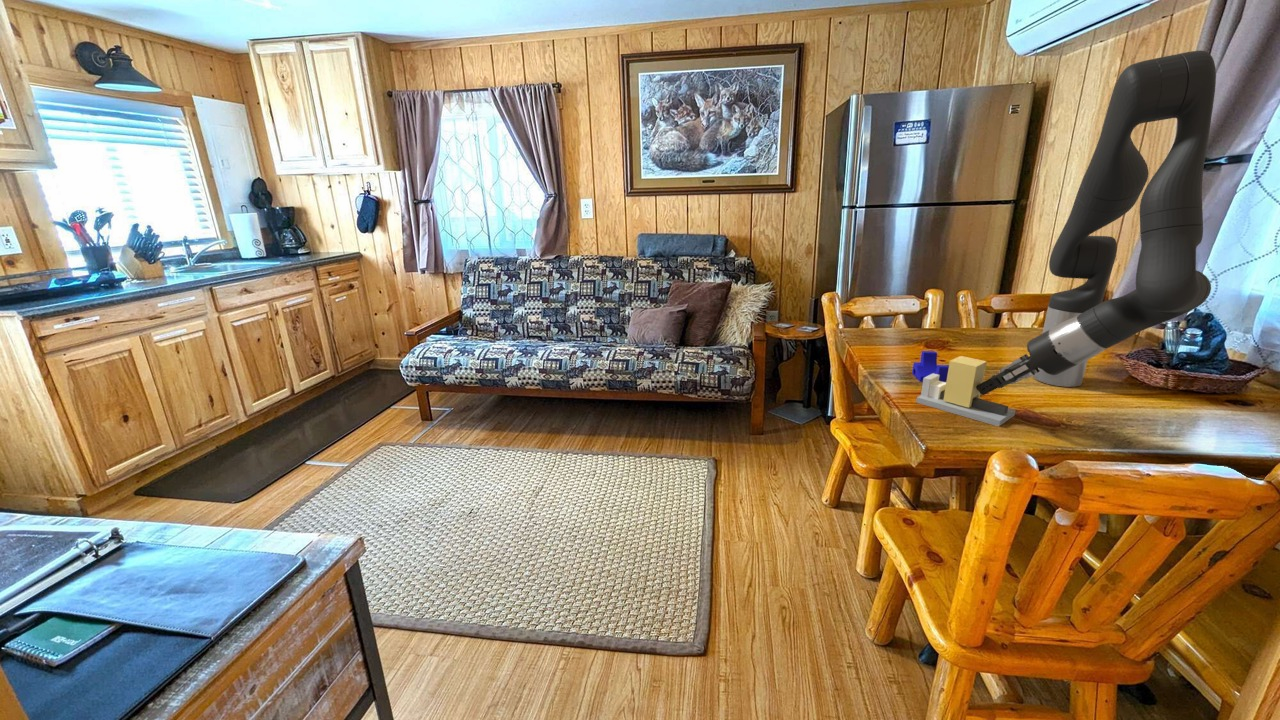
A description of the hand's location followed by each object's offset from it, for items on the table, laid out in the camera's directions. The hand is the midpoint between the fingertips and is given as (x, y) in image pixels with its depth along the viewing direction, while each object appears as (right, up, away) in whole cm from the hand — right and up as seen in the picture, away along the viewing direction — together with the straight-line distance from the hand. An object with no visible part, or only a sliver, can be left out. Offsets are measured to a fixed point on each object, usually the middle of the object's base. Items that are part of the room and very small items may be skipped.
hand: (980, 390), depth 110 cm
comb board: (-1, -4, +3) cm, 5 cm away
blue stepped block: (0, +1, +18) cm, 18 cm away
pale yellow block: (-2, -2, +3) cm, 5 cm away
